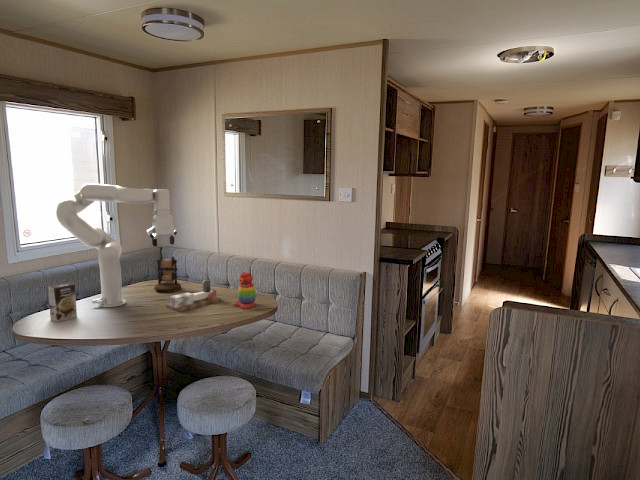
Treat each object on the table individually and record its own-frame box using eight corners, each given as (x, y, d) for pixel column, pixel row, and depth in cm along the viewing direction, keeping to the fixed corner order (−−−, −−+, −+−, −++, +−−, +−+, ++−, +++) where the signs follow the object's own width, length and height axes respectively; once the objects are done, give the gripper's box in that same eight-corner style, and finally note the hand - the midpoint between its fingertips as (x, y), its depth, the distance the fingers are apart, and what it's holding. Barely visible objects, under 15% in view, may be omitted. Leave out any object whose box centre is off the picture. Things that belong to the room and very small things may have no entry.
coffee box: (57, 322, 193) (54, 288, 190) (50, 319, 196) (47, 286, 194) (77, 317, 201) (75, 284, 198) (70, 314, 204) (67, 281, 201)
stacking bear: (232, 305, 223) (231, 272, 221) (247, 301, 231) (247, 269, 228) (244, 310, 216) (244, 276, 213) (260, 305, 223) (260, 272, 220)
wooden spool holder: (184, 286, 257) (183, 254, 254) (177, 293, 243) (176, 259, 240) (159, 286, 256) (157, 254, 253) (150, 293, 242) (149, 258, 239)
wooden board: (179, 311, 211) (178, 299, 210) (166, 306, 219) (165, 295, 218) (221, 300, 230) (220, 289, 229) (207, 296, 238) (207, 285, 237)
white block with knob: (191, 301, 220) (190, 285, 219) (186, 300, 223) (186, 283, 221) (213, 296, 231) (213, 280, 230) (209, 294, 234) (209, 278, 232)
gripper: (150, 214, 213) (151, 248, 215) (181, 212, 226) (182, 244, 229) (142, 213, 218) (144, 246, 220) (173, 211, 231) (174, 242, 233)
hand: (163, 245), depth 224 cm, fingers open, 9 cm apart
